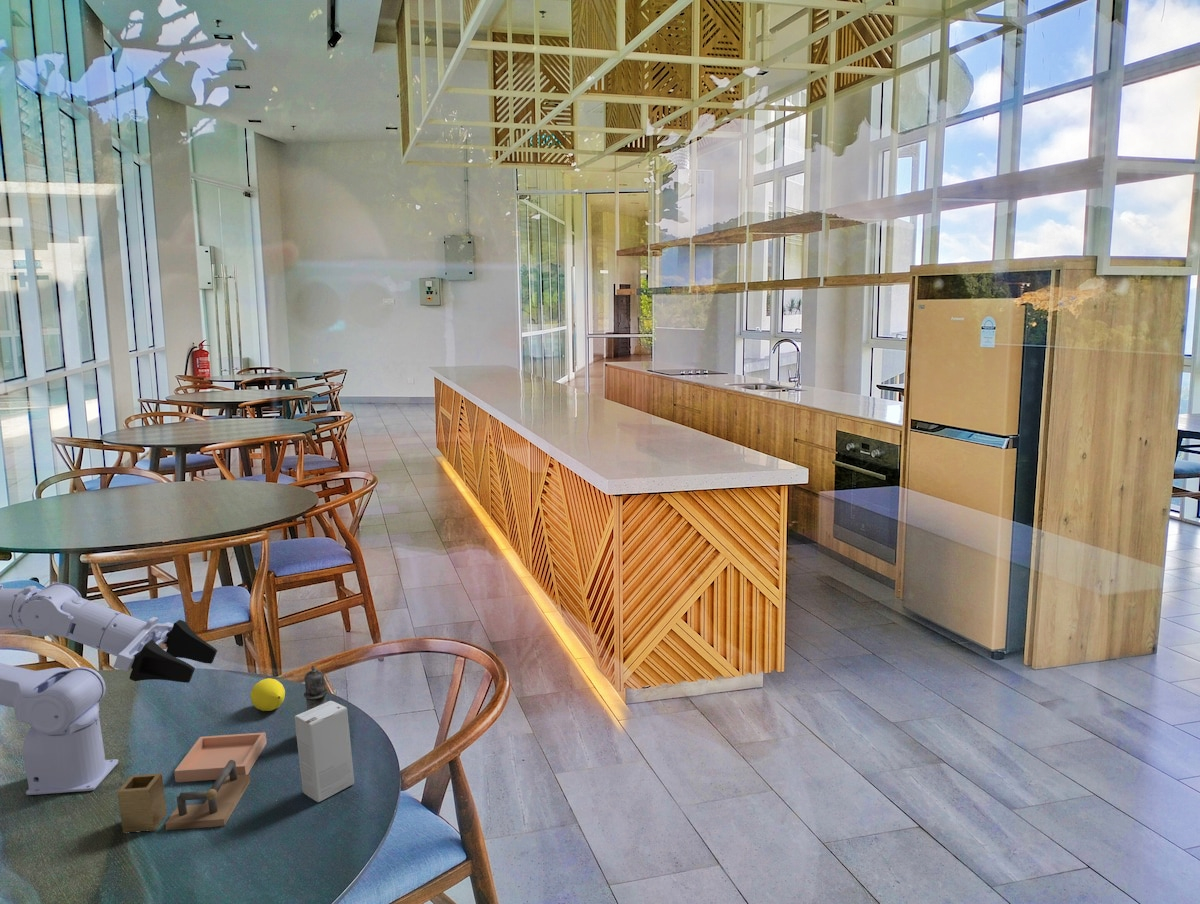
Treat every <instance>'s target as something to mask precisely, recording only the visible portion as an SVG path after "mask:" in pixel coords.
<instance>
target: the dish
mask: <svg viewBox="0 0 1200 904" xmlns="http://www.w3.org/2000/svg"><path fill="white" fill-rule="evenodd" d="M267 742H268V741H267V734H266V732H265V731H263V732H252V733H251V732H250V733H237V734H223V735H222V734H220V735H207V736H199V738H198V739H197V740H196V741H195V743H194V745H192V747H191V748H190V750H189V751H188V752H187V754H186V755H185V756H184V757H183V759H182V760H181V762H180V763H179V764H178V765H177V767H176V768H174V769H175V770H174V771H173V772H174V780H175V783H185V782H198V781H200V782H201V781H213V780H215V781H216V780H217V778H218V777H219V775H220V774H221V772H222V771H223V769H224V768H225V766H226V765H227V763H228V762H229V761H230V760H234V761H235V762H236V770H237V775H247V774H249V773H250V772H251V770H252V768H253V766H254V765H255V763H256V762H257V760H258V758H259V757H260V755H261V753H262V752H263V751H264V748H265V746H266V745H267ZM228 776H229V775H228Z"/></svg>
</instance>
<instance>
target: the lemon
mask: <svg viewBox="0 0 1200 904" xmlns="http://www.w3.org/2000/svg"><path fill="white" fill-rule="evenodd" d="M249 695H250V699H251V704H252V705H253V706H254V707H255V709H257V710H260V711H262V712H268V711H269V712H270V711H274V710H276V709H278V708H279V707H280V706H281V705H282V704H283V702H284V701H285V697H286V696H285V695H286V690H285V687H284V685H283V684H282V683H281V682H280V681H279V680H277V679H274V678H269V677H268V678H264V679H261V680H259V681H258V682H256V684H254V685H253V686H252V689H251V692H250V693H249Z"/></svg>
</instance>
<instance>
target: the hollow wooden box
mask: <svg viewBox="0 0 1200 904" xmlns="http://www.w3.org/2000/svg"><path fill="white" fill-rule="evenodd" d="M163 780H164V779H163V774H162V772H161V773H160V772H158V773H144V774H134V775H133V774H132V775H130V776H129V777H128V779H126V781H125V782H124V783H123V784H122V786H121V787H120V788H119V789H118V790H117V793H116V794H117V801H118V806H119V815H120V822H121V829H122V834H123V833H124V834H129V833H128V832H136V831H147V830H148V831H150V832H155V831H156V830H157V829H158V827H159V826H158V825H161V823H162V822H163V820H164V819H163V818H166V816H165V815H168V811H167V804H166V803H167V802H166V796H165V789H164V788H165V787H164V781H163ZM162 819H163V820H162ZM160 822H161V823H160ZM155 829H156V830H155ZM126 832H127V833H126Z"/></svg>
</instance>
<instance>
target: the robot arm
mask: <svg viewBox="0 0 1200 904" xmlns="http://www.w3.org/2000/svg"><path fill="white" fill-rule="evenodd" d="M158 621H159V618H158V617H156V616H152V617H150V619H148V620H147V621H144V620H142V619H139V618H136V617H134V616H131V615H129V614H126V613H123V612H120V611H118V610H115V609H113V608H110V607H108V606H105V605H102V604H99V603H96V602H94V601H92V600H90V599H89V600H88V599H86V598H83V597H82V594H81V593H80V592H79V590H78V589H77V588H76V587H74V586H73V585H70V584H67V583H61V582H59V581H57V582H53V583H50V584H49V585H48V586H46V587H45V588H44V589H41V588H38V587H37V586H36V585H28V586H26V587H23V588H17V587H16V588H13V587H12V588H9V587H8V588H7V587H6V588H4V585H3V584H1V583H0V630H28V631H30V632H31V634H30V635H31V636H33V637H38V638H42V637H49V636H51V635H52V636H56V637H59V638H63V637H64V638H66V639H68V640H72V641H74V642H77V643H79V644H82V645H85V646H87V647H90V648H93V649H95V650H99V651H101V652H103V653H106V654H109V655H111V656H114V657H116V659H115V662H114V664H113V668H115V669H118V670H120V671H123V672H126V673H127V672H128V671H130V670H131V671H130V674H129V680H131V681H134V682H140V681H151V680H152V681H153V680H159V681H169V682H170V681H171V682H177V683H187V684H189V683H190V682H191V680H192V678H193V675H194V672H195V669H196V668H195V667H194V666H193V665H191V664H190V663H188V662H186V661H184V660H182V659H186V660H191V661H194V662H199V663H202V664H212V663H214V660H215V659H216V658H215V657H216V656H217V655H216V654H217V652H218V650H217V649H216V648H215V647H214V646H213V645H211V644H210V643H208V642H206V640H203V638H201V637H200V636H199V635H198V634H196V632H194V631H193V630H192V629H191V627H190V625H188V623H187V622H186V621H185V620H181V619H178V620H176V622H174V623H172V622H170V621H167V622H164V623H159V622H158ZM162 645H165V647H166V650H164V649H163V648H162V647H160V646H162ZM179 658H180V659H179ZM106 687H107V686H106V683H105V680H104V678H103V677H102V675H101V674H100V673H99V672H98V671H97V670H95V669H93V668H90V667H87V666H86V667H85V666H79V667H74V668H64V667H59V666H58V667H52V668H46V669H40V670H32V669H28V668H23V667H19V666H15V665H11V664H5V663H2V662H0V706H5V707H9V708H13V713H14V717H15V720H16V721H17V722H18V723H23V724H26V725H28V726H30V728H29V729H28V730H27V732H26V733H25V736H24V739H23V745H22V756H23V761H24V767H25V774H26V780H27V785H28V789H27V790H26V791H25V795H27V796H32V795H34V796H35V795H48V794H62V793H75V792H89V791H94V790H95V789H96V788H97V787H98V786H99V785H100V784H101V783H102V782H103V780H104V779H106V778H107V776H108V775H109V774H110V773H111V771H113V769H114V768H115V767H116V766H117V765H118V764H119V759H117V758H116V759H114V758H113V759H106V756H105V748H104V742H103V735H102V733H103V732H102V727H101V719H100V713H99V711H100V705H99V704H100V702H101V701H102V700H103V698H104V697H105V695H106V689H107V688H106Z"/></svg>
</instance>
